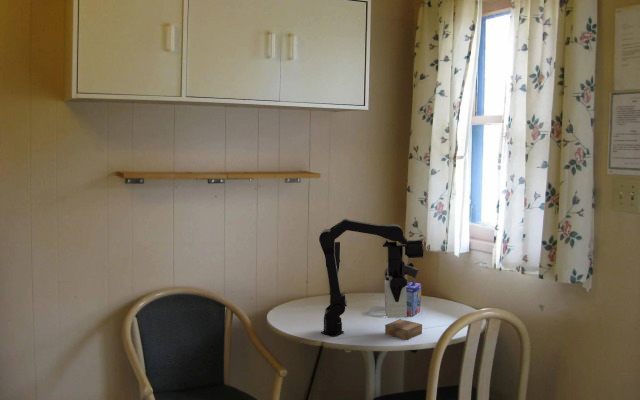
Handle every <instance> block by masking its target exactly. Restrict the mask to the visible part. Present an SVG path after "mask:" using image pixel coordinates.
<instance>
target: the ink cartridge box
mask: <svg viewBox="0 0 640 400" xmlns="http://www.w3.org/2000/svg"><path fill="white" fill-rule="evenodd" d="M417 280H418V279H417V278H415V280H414V281H413V282H411V281H410V282H407V286H406V303H407V316H408V317H412V318H413V317H414V316H416V315H417V314H418V313H420V312H421V306H422V305H421V301H422V283H419V282H417Z"/></svg>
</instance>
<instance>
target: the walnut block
mask: <svg viewBox="0 0 640 400" xmlns="http://www.w3.org/2000/svg"><path fill="white" fill-rule="evenodd" d="M384 327H385V328H384V329H385V330H384V331H385V332H384V334H385V335H386V336H389V337H393V338H398V339H401V340H402V339H403V340H406V341H409V340H411V339H413V338H415V337H417V336H420V335H421V334H423V324H422V323H419V322H413V321H411V320H406V319H402V318H399V319H397V320H395V321H392V322H390V323H387V324H384Z"/></svg>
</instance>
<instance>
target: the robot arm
mask: <svg viewBox="0 0 640 400" xmlns="http://www.w3.org/2000/svg"><path fill="white" fill-rule="evenodd" d="M348 231H349V232H356V233H360V234H368V235H374V236H378V237H381V238H383V239H385V241H384V242H382V244H381V246H382V247H383V248H386V249H387V251H386V252H387V256H386V257H387V259H386V263H387V265H386V266H387V267H385V269H384V270H383V273H384V274H383V275H384V279H385V280H389V286H390V289H391V291H392V294H393V297H394V299H395V302H399V298H400V294H401V290H402V288H403V287H405V286H407V284H408V279H407V278H406V276H409V277H412V278H413V279H417V276H418V274H419V268H417V267H416V266H414V263H413V262H408V263H405V262H404V259H403V258H404V257H403V255H404V256H406V257H407V259H423V258H424V247H423V240H422V239H413V240H412V239H407V237H406V236H404V232H403V228H402V227H401V226H400V225H399V224H398V223H384V224H377V223H370V222H365V221H357V220H352V219H349V218H343V219H342V220H341V221H339V222H338V223H336V224H335V225H333V226H331V227H330V228H326V229H323V230H322V231H321V232H320V234H319V238H318V241H319V244H320V247H321V250H322V252H323V254H324V259H325V265H326V273H327V277H328V278H327V279H328V284H329V291H330V292H329V293H330V294H329V296H330V298H329V305H328V306H327V307H326V308H324V309H325V310H324V314H323V315H324V316H323V330H322V331H320V333H321V334H322V333H323V335H326V334H327V335H326V336H329V335H330V337H336V336H339V335H343V334H345V331H344V330H343V322H342V317H341V316H342V315H343V314H344V313H345V311H346V307H347V306H348V301H347V298H346V291H344V292H342V290H341V287H340V279H339V273H338V267H337V261H336V254H335V252H336V246H335V245H336V239H338V238H340V236H342V235H343V234H344V233H345V232H348Z"/></svg>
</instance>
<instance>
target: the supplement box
mask: <svg viewBox="0 0 640 400" xmlns="http://www.w3.org/2000/svg"><path fill="white" fill-rule="evenodd" d="M383 282H384V313H385V315H386V317H387V318H389V319H390V318H407V303H406V286H405V287H403V288H402V290H401V294H400V298H399V302H395V299H394V297H393V294H392V291H391V289H390V286H389V280H386V279H385V280H384V281H383Z"/></svg>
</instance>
